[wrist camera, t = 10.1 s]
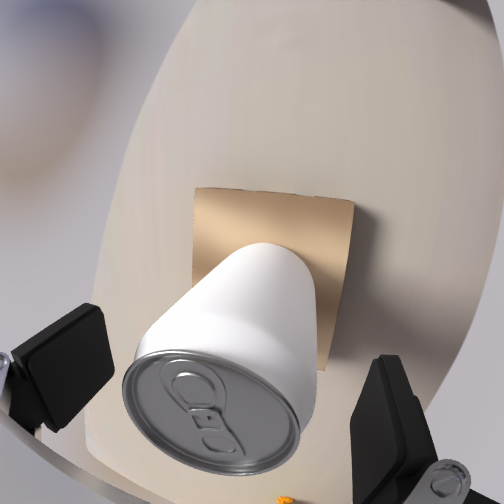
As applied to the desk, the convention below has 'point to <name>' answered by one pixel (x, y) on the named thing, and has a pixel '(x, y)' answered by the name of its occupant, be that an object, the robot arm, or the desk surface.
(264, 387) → the can
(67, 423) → the robot arm
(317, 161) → the desk surface
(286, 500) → the toy figure
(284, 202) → the dock
